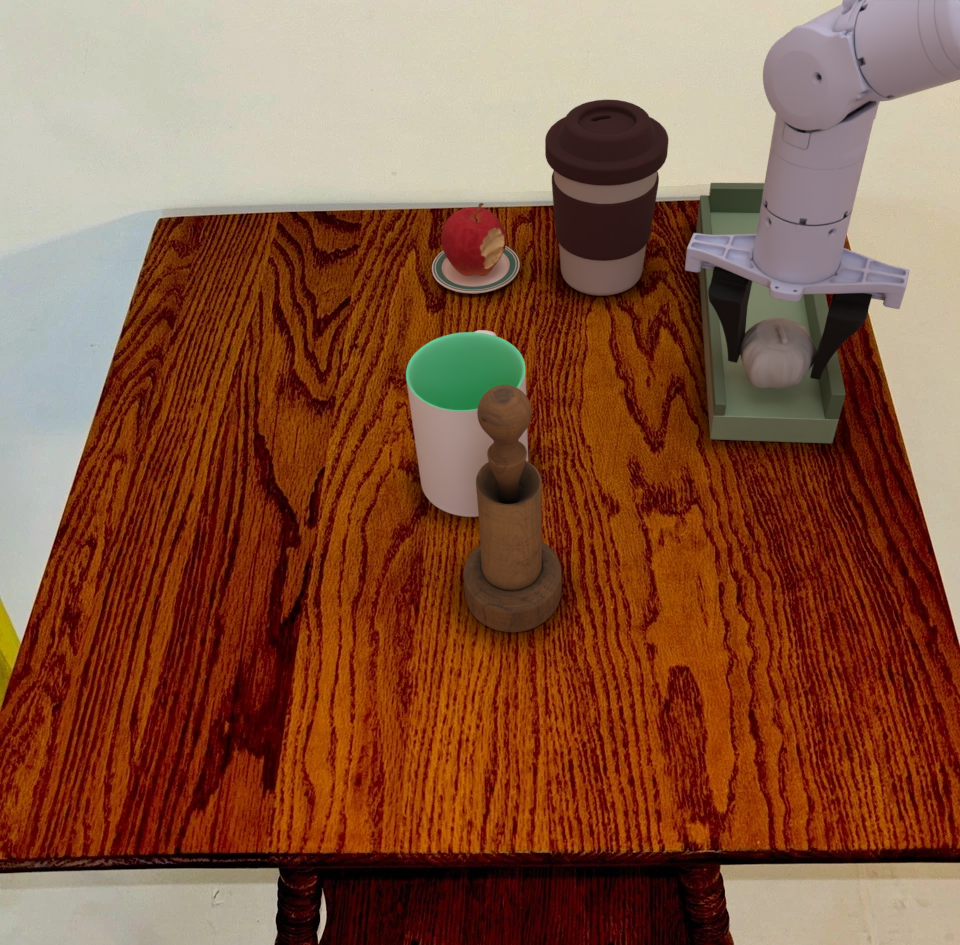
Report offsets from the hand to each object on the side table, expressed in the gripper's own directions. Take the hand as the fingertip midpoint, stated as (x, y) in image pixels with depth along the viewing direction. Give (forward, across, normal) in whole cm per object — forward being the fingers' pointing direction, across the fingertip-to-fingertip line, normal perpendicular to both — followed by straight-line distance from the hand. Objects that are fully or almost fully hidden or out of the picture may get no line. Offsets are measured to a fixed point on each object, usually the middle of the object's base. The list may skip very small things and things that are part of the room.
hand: (775, 361), depth 77 cm
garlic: (+2, 0, 0) cm, 2 cm away
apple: (+5, -28, +10) cm, 30 cm away
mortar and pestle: (+5, -12, -23) cm, 26 cm away
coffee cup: (+5, -17, +13) cm, 22 cm away
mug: (+5, -19, -12) cm, 23 cm away
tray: (+5, -3, +10) cm, 12 cm away
